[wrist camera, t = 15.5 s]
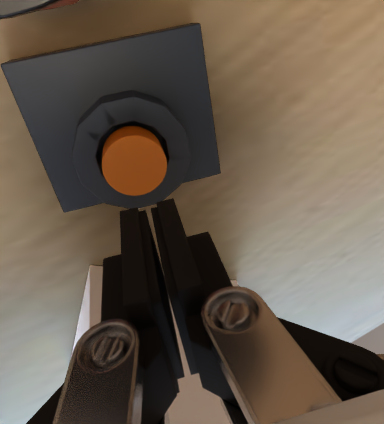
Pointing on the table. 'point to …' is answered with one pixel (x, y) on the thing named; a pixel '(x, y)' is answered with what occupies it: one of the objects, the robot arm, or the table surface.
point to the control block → (118, 110)
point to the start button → (133, 161)
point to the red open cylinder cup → (61, 4)
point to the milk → (190, 384)
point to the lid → (22, 7)
